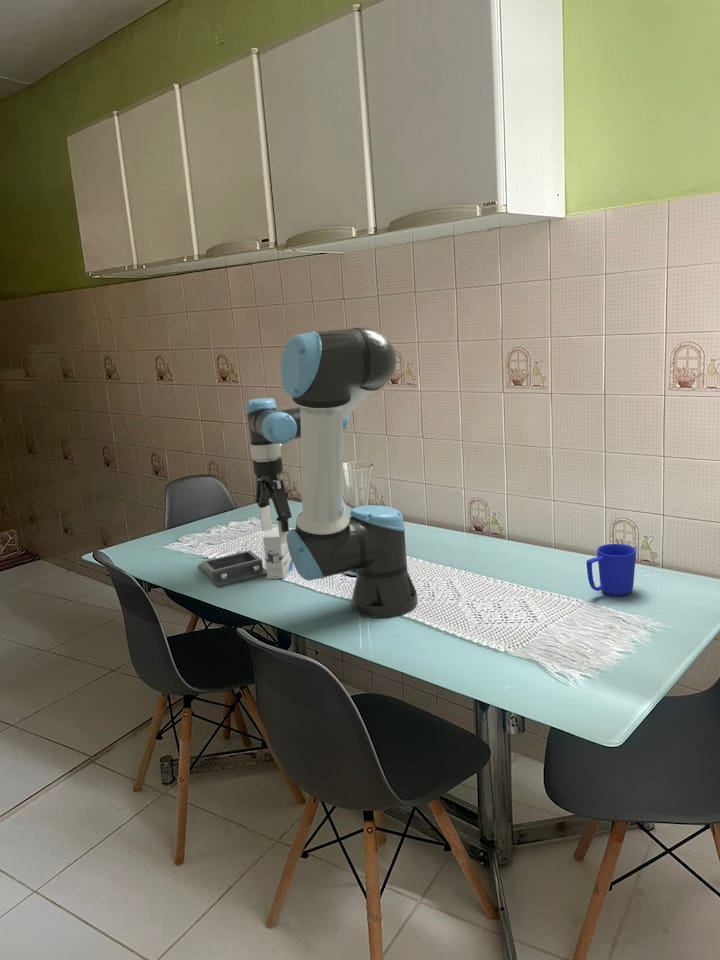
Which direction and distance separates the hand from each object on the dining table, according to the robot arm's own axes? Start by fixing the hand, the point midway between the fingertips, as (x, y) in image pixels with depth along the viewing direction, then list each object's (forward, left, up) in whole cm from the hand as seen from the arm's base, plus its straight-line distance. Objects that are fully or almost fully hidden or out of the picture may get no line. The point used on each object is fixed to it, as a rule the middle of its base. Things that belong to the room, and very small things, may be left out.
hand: (276, 536), depth 193 cm
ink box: (0, 0, -11) cm, 11 cm away
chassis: (+11, +10, -10) cm, 18 cm away
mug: (-63, -55, -11) cm, 85 cm away
